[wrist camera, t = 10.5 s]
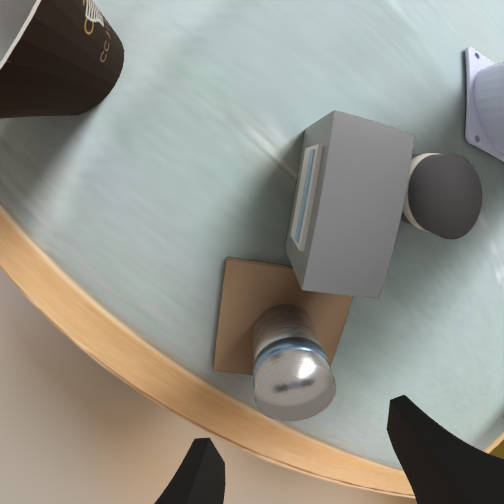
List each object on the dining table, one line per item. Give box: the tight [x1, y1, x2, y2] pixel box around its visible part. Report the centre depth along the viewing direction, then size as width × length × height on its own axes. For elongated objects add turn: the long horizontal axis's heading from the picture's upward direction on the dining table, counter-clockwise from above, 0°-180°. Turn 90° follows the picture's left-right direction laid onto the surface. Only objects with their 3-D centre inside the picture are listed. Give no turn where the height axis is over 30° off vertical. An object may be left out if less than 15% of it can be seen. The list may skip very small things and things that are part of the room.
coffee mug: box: [0, 0, 124, 118], centre depth 9 cm, size 12×9×10 cm
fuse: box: [253, 304, 336, 421], centre depth 15 cm, size 4×4×6 cm
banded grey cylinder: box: [400, 153, 482, 239], centre depth 13 cm, size 4×4×6 cm
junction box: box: [285, 110, 414, 299], centre depth 13 cm, size 4×7×6 cm, turn 171°
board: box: [213, 257, 353, 375], centre depth 18 cm, size 8×8×1 cm
